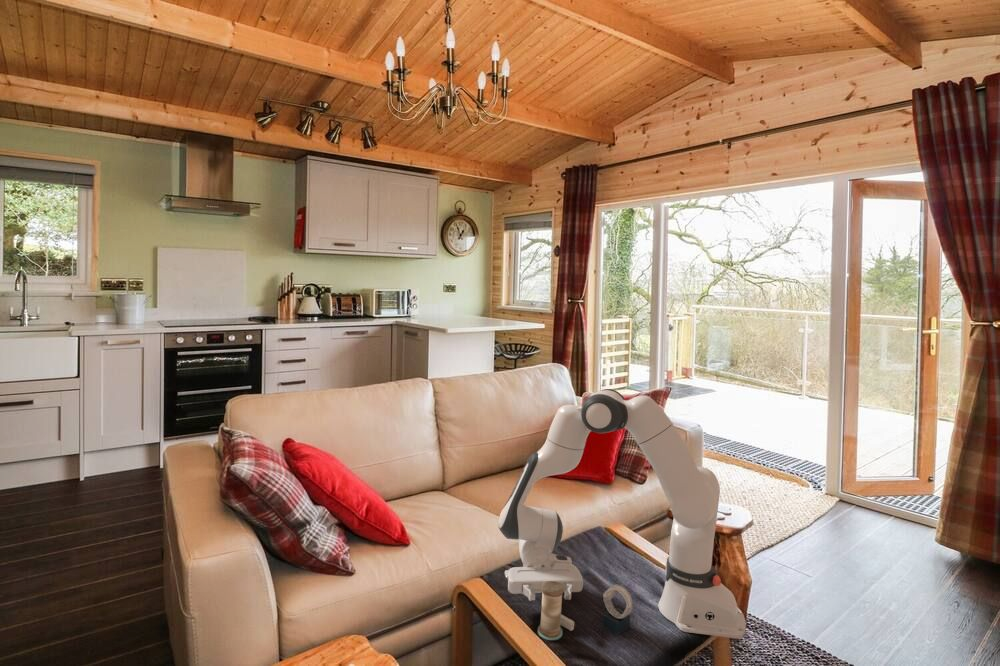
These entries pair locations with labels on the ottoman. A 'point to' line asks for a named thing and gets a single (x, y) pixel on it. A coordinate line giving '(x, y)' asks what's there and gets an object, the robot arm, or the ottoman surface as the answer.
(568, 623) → the rail
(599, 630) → the ottoman surface
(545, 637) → the coaster
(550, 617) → the spool
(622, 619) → the watch
